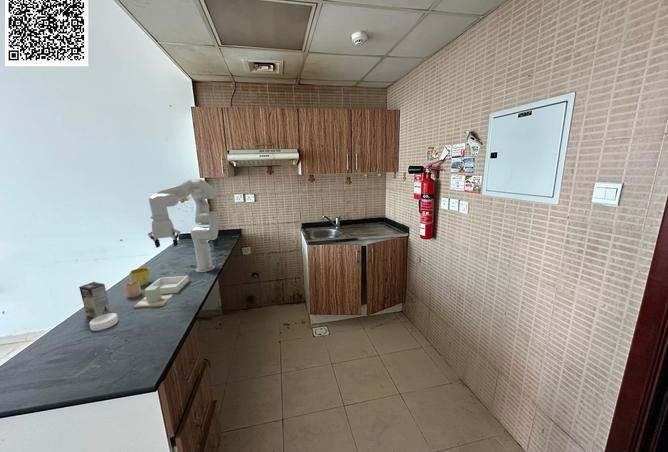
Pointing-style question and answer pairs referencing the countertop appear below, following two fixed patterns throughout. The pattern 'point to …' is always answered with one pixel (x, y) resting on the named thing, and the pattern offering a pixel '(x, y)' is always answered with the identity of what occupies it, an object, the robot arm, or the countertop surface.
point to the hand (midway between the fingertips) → (167, 246)
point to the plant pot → (140, 275)
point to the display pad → (160, 302)
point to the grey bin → (170, 284)
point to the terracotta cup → (133, 289)
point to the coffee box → (95, 299)
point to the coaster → (103, 321)
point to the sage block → (153, 294)
